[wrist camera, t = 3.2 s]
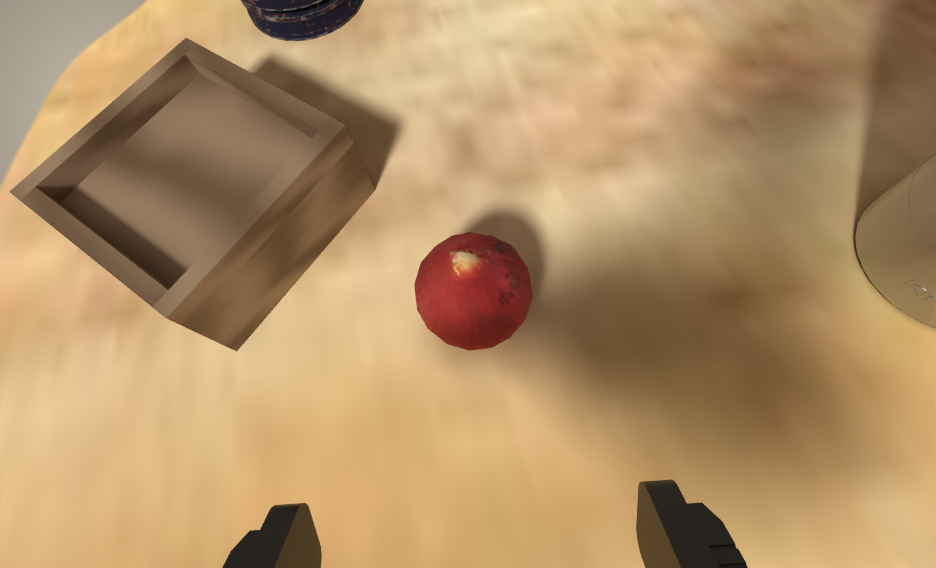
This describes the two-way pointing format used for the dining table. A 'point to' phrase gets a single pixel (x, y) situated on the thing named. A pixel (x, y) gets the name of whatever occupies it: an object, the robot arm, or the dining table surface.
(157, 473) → the dining table surface
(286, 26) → the storage jar
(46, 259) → the dining table surface
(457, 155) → the dining table surface
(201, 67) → the wooden square tray
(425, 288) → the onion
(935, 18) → the dining table surface
